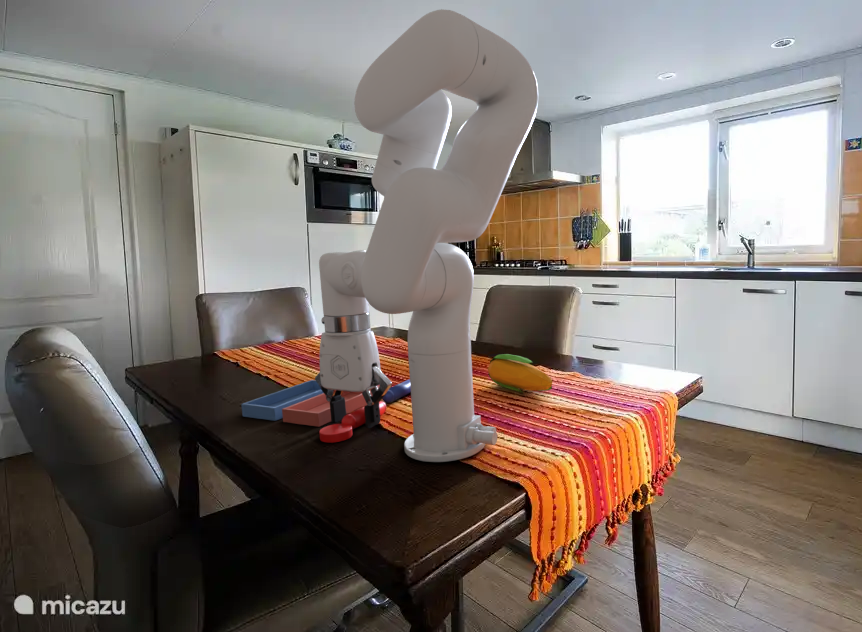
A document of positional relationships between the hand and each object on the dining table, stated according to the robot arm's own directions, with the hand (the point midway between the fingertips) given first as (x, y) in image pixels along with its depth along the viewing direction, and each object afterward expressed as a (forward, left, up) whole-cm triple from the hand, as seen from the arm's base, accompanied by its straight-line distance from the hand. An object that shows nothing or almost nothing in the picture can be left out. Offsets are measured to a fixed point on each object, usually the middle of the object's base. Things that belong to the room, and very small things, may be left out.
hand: (355, 422), depth 90 cm
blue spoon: (+3, -20, -1) cm, 20 cm away
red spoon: (0, 0, -1) cm, 1 cm away
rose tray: (+11, -7, -1) cm, 13 cm away
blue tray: (+21, -7, -1) cm, 23 cm away
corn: (-20, -29, -1) cm, 35 cm away
